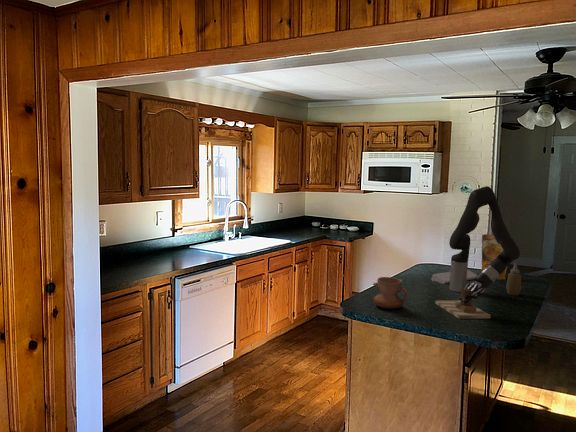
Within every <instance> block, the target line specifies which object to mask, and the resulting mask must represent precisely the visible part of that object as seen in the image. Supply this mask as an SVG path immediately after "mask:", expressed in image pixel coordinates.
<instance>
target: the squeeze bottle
mask: <svg viewBox="0 0 576 432" xmlns="http://www.w3.org/2000/svg"><path fill="white" fill-rule="evenodd" d="M505 288H506V293H507V294H508V295H510V296H519V295H520V293H521V291H522V275H521V273H520V269H518V263H516V262H515V263H514V264H513V267H512V268H510V272H508V275H507V281H506V285H505Z"/></svg>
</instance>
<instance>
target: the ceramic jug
mask: <svg viewBox="0 0 576 432" xmlns="http://www.w3.org/2000/svg"><path fill="white" fill-rule="evenodd" d="M376 281H377V282H373V283H372V285H373V286H376V287H377V288H378V289H379V293H378V294H377V295H375V296H373V297H372V298H373V299H372V300H373V303H374V304H375V305H376V306H377V307H378V308H381V309H385V310H395V309H400V308H402V306H403V305H404V304H405V301H406V300H407V298H408V296H409V295H408V294H409V292H408V289H406V288H405V287H402V283H403V280H402V279H400V278H397V277H393V276H392V277H391V276H381V277H377V280H376ZM401 291H403V292H404V296H403V299H402V298H401V297H400V296H399V295H398V294H399V293H400V292H401Z"/></svg>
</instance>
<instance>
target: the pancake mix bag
mask: <svg viewBox="0 0 576 432" xmlns="http://www.w3.org/2000/svg"><path fill="white" fill-rule="evenodd" d="M502 251H503V248H502V247H501V245H500V244H498V243H497V241H496V239H495V237H494V235H493V234H487V233H486V234H485V233H484V234H481V270H480V272H481V271H482V270H483V269H484V268H486V267H487V266H488V265H489V264H490V263H491V262H492V261H493V260H495V259H496V258H497V256H498V255H499V254H500V253H501V252H502ZM507 269H508V266H507V267H506V269H505V270H504V272H503V273H501V274H500V275H499V277H498V278H497V279H496V280H502V281H503V280H506V274H507V273H506V272H507V271H508V270H507Z"/></svg>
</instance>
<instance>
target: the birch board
mask: <svg viewBox="0 0 576 432" xmlns="http://www.w3.org/2000/svg"><path fill="white" fill-rule="evenodd" d="M456 302H461V300H460V299H457V300H453V299H450V300H449V299H448V300H447V299H442V300H441V299H437V300H436V299H435V300H434V303H435V304H436V305H437V306H438V307H440V308H442V309H443V310H445V311H446V312H448V313H449V314H451V315H452V316H454V317H456V318H457V319H459V320H461V319H462V320H466V319H473V320H474V319H491V316H492V315H491V314H489V313H487V312H486V311H484V310H483V309H481V308H479V307H477V306H475V307H476V312H463V311H461V310H459V309H458V308H456V307H455V305H456Z"/></svg>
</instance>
